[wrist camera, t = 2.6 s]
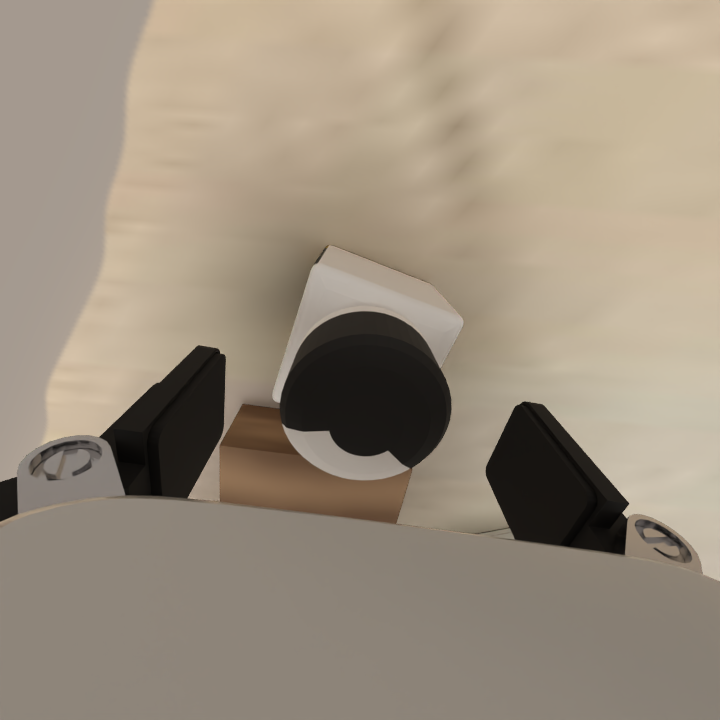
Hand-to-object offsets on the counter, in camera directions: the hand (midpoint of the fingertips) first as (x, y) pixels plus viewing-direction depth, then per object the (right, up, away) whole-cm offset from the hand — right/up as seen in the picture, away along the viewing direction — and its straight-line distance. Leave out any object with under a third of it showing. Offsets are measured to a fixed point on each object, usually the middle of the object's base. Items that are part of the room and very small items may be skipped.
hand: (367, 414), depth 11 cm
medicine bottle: (0, +5, +11) cm, 12 cm away
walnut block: (-4, -8, +17) cm, 19 cm away
